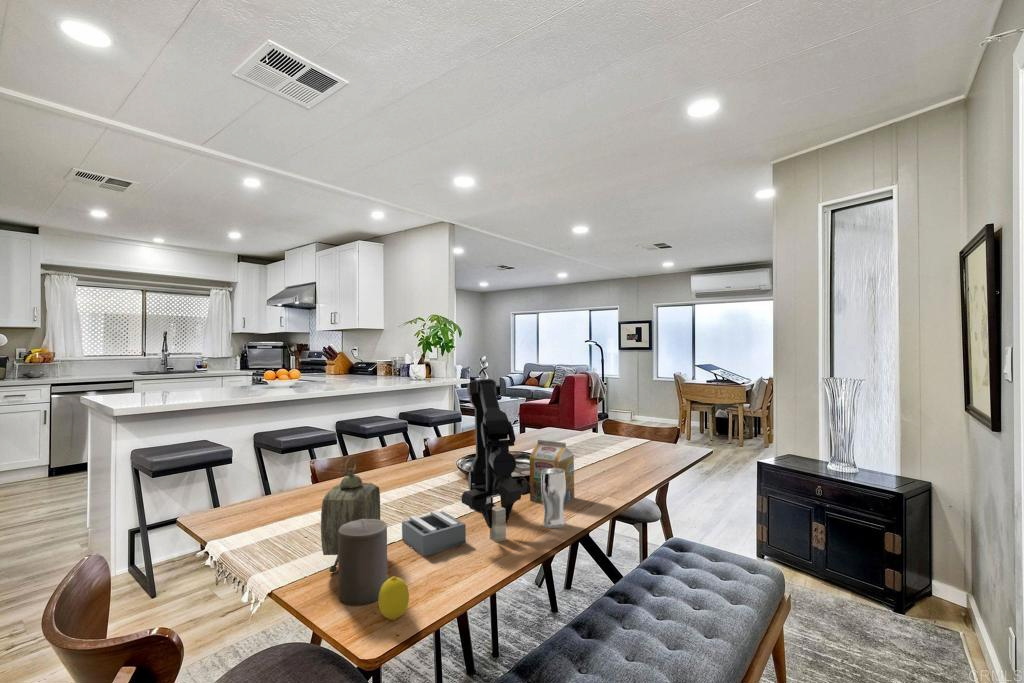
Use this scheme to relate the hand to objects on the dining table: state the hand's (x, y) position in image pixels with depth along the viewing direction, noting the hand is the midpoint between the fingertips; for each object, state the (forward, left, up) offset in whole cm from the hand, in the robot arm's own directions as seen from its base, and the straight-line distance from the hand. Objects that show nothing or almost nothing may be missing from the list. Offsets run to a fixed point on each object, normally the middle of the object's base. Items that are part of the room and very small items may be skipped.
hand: (497, 525), depth 122 cm
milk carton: (-14, +32, -4) cm, 35 cm away
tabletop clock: (-11, -34, -4) cm, 36 cm away
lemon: (+17, -36, -4) cm, 40 cm away
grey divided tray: (-9, -14, -4) cm, 17 cm away
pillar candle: (+4, -37, -4) cm, 37 cm away
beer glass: (+2, +18, -4) cm, 18 cm away
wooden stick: (0, 0, -4) cm, 4 cm away
